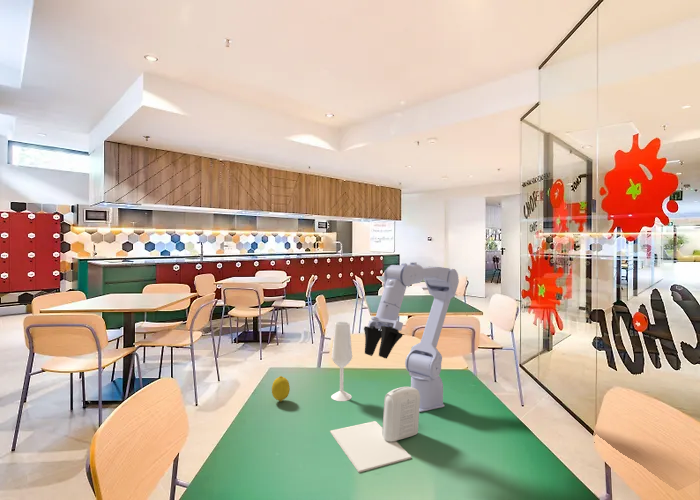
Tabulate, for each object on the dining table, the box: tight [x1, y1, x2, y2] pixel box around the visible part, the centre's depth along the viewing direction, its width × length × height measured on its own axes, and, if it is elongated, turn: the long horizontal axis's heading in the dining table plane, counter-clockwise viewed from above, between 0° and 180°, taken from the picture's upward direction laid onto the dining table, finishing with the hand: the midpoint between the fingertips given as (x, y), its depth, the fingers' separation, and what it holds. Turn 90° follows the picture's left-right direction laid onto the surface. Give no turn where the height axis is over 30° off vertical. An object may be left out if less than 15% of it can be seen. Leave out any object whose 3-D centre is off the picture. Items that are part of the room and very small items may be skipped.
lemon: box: [271, 375, 291, 402], centre depth 112 cm, size 6×6×8 cm
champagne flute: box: [330, 321, 353, 402], centre depth 116 cm, size 7×7×24 cm
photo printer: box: [382, 386, 420, 442], centre depth 92 cm, size 10×4×12 cm, turn 124°
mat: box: [329, 420, 412, 473], centre depth 88 cm, size 14×18×1 cm
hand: (375, 356), depth 92 cm, fingers open, 7 cm apart
